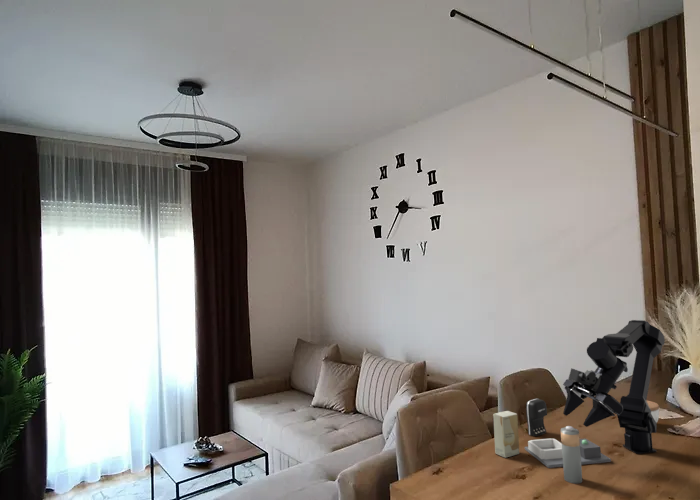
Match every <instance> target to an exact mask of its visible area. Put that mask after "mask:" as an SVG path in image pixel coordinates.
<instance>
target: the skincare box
mask: <svg viewBox="0 0 700 500" xmlns="http://www.w3.org/2000/svg"><path fill="white" fill-rule="evenodd" d="M492 415H493V416H492V417H493V434H494V436H493V437H494V452H495V453H494V454H496V455H498V456H500V457H502V458H504V459H505V458H508V457H510V458H511V457H512V456H513V457H514V456H516V455H519V454H520V441H519V440H520V438H519V437H520V436H519V423H518V421H519V419H518V418H519V417H518V413H516V412H512V411H510V410H505V411H499V412H496V413H493V414H492Z"/></svg>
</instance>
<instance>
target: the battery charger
mask: <svg viewBox="0 0 700 500" xmlns="http://www.w3.org/2000/svg"><path fill="white" fill-rule="evenodd" d="M525 409H526V410H525V412H526V413H525V415H526V423H527V435H529V436H533V437H540V436H542V435H545V434H546V433H547V429H546V426H545V422H544V417H545V416H548V409H547V403H546V402H545V400H543V399H540V398H533V399H530V400H527V401H526V403H525Z"/></svg>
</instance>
